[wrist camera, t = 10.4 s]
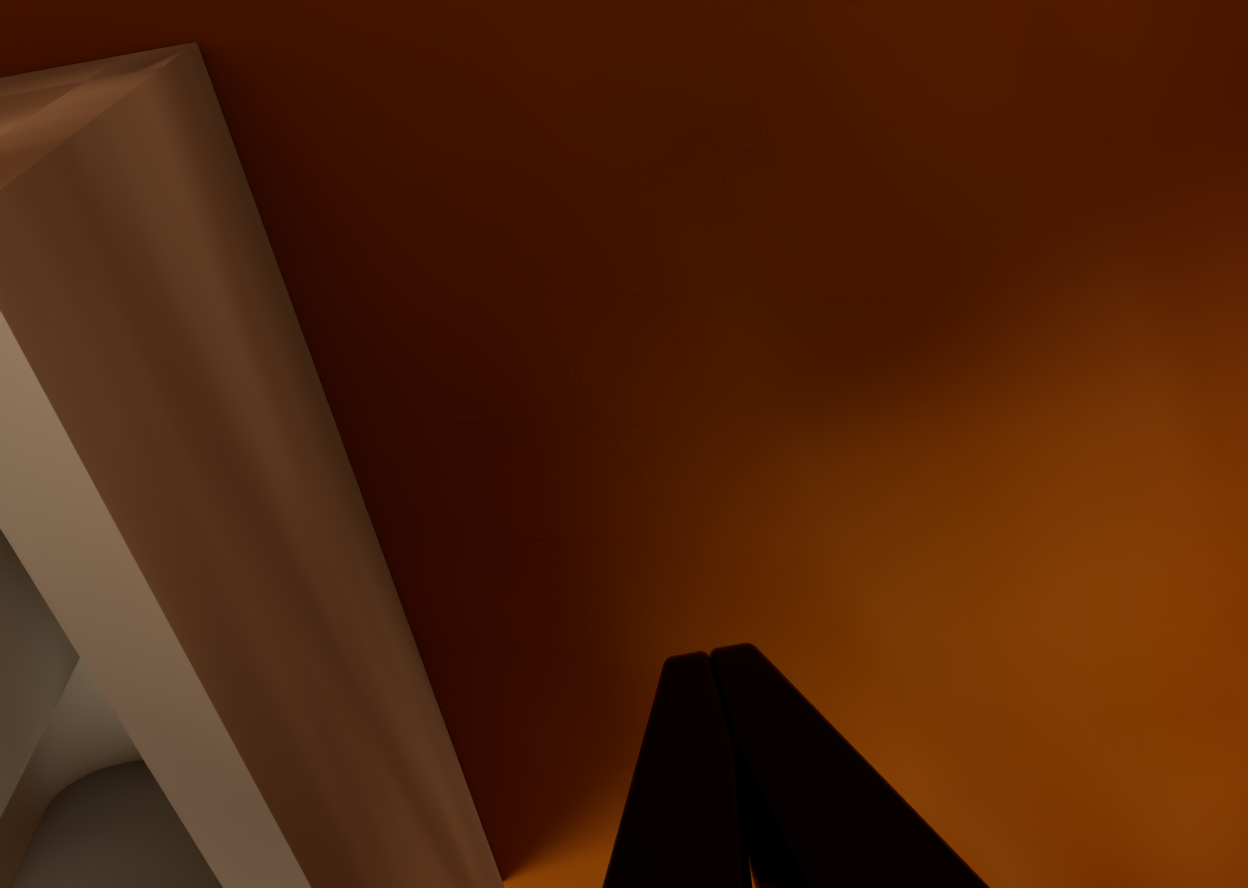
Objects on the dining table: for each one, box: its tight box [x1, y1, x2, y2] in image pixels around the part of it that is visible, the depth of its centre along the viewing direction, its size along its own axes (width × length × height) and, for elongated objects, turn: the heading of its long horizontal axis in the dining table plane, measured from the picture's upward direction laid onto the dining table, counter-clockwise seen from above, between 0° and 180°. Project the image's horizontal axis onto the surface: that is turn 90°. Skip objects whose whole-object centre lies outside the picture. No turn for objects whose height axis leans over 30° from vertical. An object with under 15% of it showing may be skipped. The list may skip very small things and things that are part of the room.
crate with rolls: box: [0, 42, 503, 888], centre depth 10 cm, size 7×12×5 cm, turn 9°
